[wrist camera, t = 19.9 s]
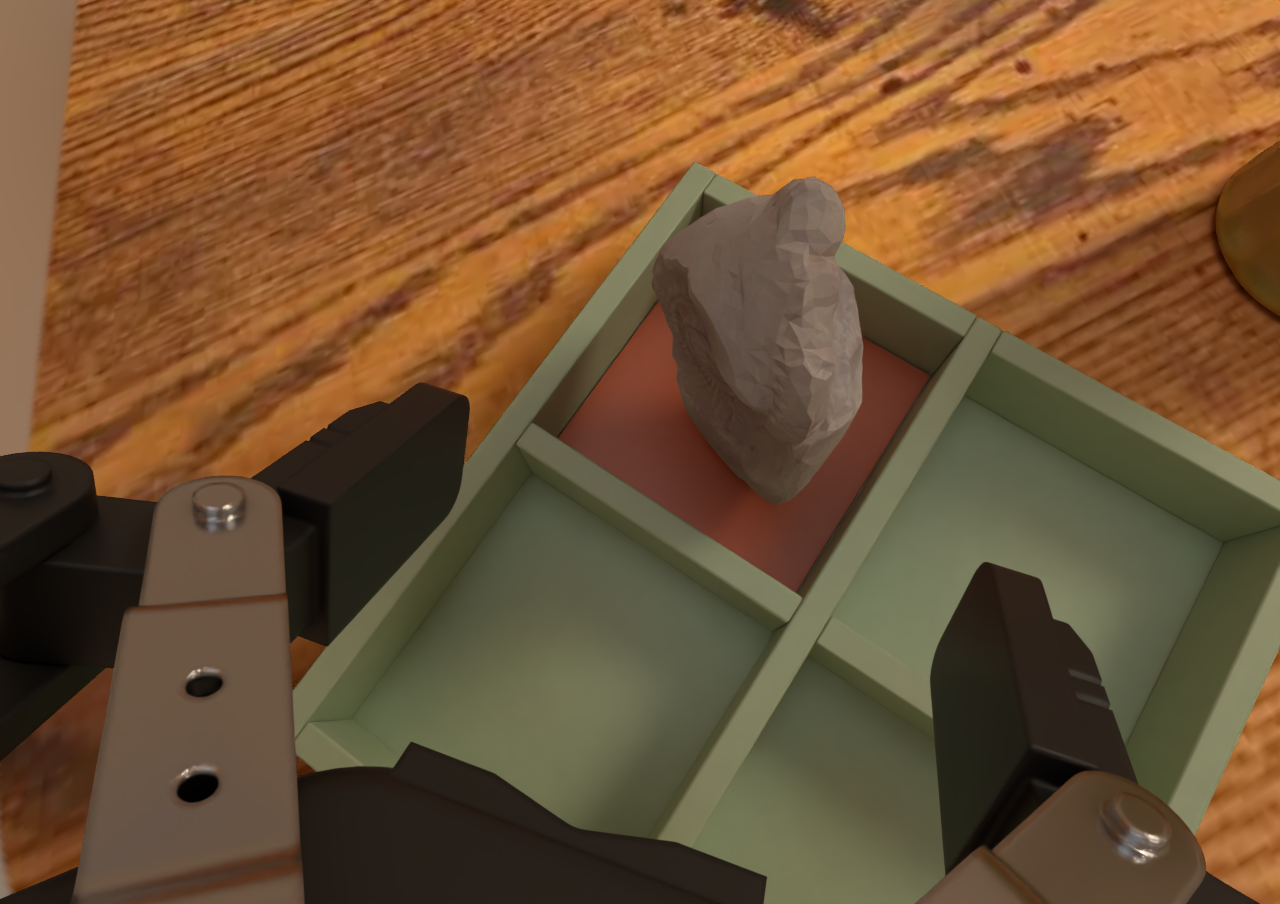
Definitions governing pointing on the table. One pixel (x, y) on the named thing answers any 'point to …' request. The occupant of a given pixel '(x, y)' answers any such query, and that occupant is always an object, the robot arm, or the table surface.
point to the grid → (800, 590)
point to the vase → (1253, 227)
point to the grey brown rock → (765, 333)
